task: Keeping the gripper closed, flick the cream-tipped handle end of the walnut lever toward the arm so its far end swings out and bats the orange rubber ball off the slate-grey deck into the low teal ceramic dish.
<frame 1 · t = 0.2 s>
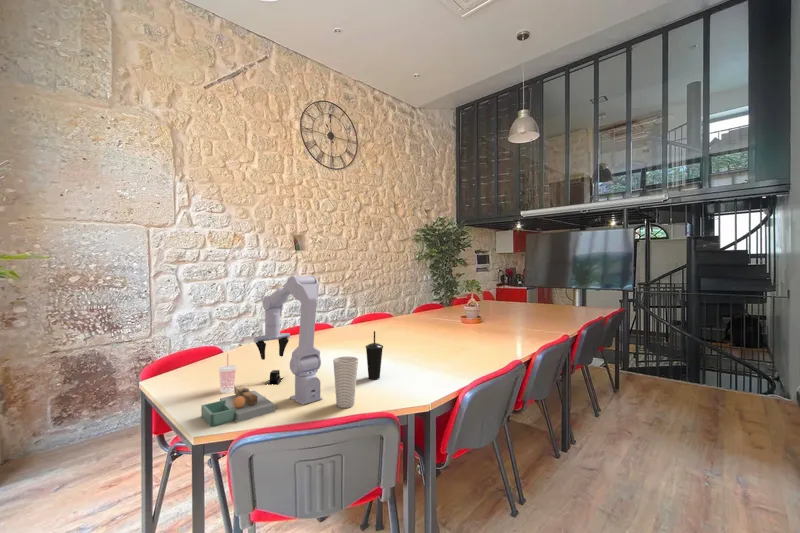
hand: (272, 357, 141), 10 cm above the table, tool pointing down, fingers open, 7 cm apart
drinking cup: (374, 378, 147), on the table
ball: (239, 402, 109), point 4 cm above the table, touching deck
pivot post: (245, 406, 116), resting on deck
cup: (345, 405, 117), on the table
beverage cup: (227, 391, 130), on the table
lever: (245, 393, 115), point 4 cm above the table, hinge at 0.0°
deck: (246, 408, 114), on the table
teal dish: (218, 418, 106), on the table
black blocky device: (274, 382, 142), on the table
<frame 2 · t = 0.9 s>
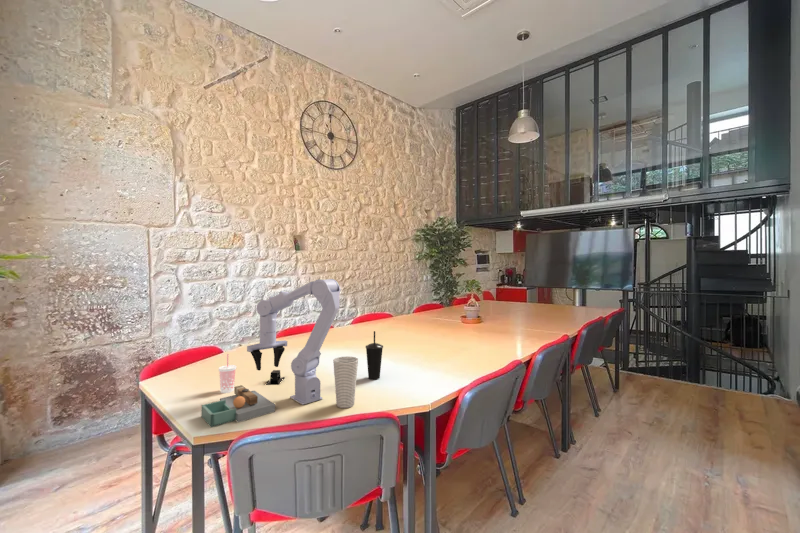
hand: (267, 368, 128), 9 cm above the table, tool pointing down, fingers open, 6 cm apart
nothing on the table moved.
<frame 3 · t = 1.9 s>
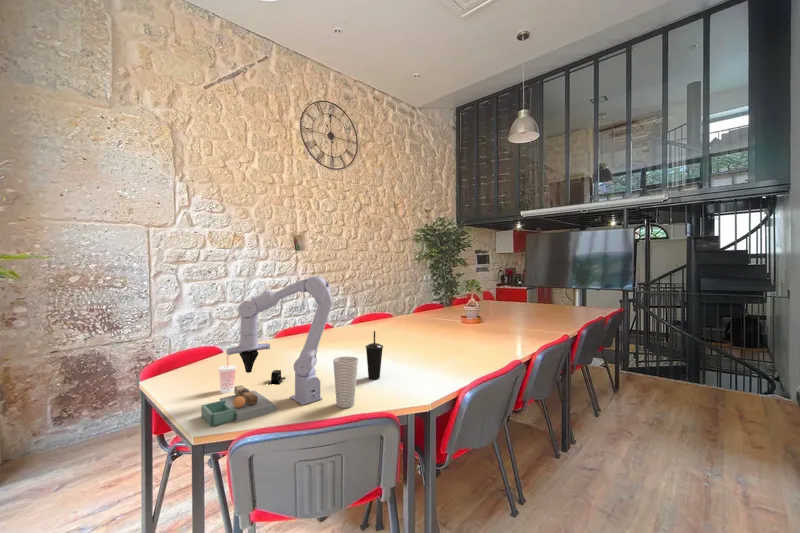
hand: (248, 372, 122), 10 cm above the table, tool pointing down, fingers closed
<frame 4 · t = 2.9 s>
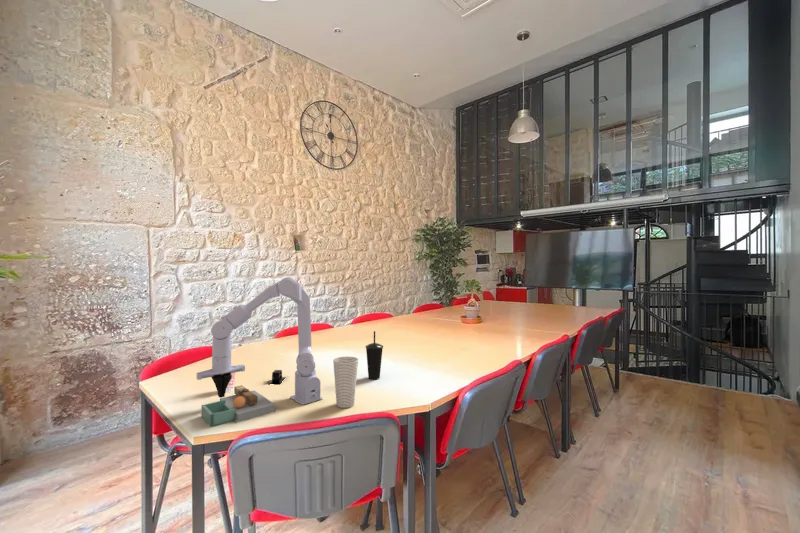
hand: (221, 396, 115), 3 cm above the table, tool pointing down, fingers closed
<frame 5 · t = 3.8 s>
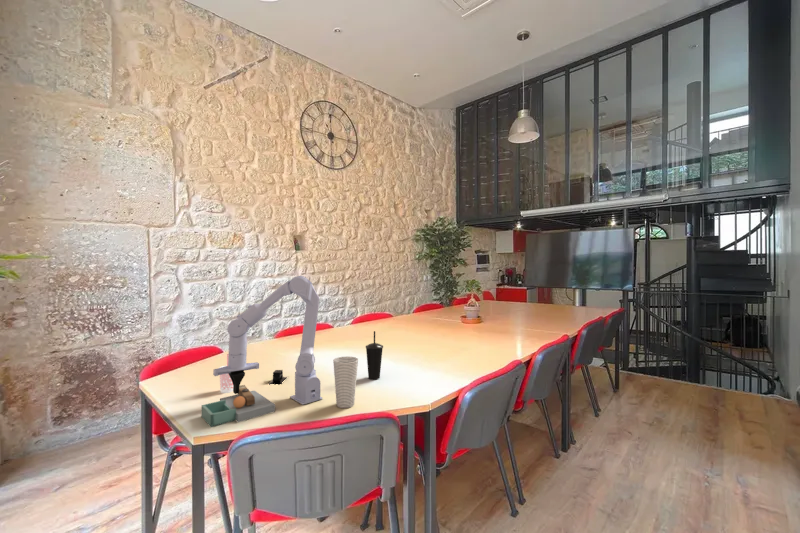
hand: (236, 392, 119), 3 cm above the table, tool pointing down, fingers closed, pressing on lever
lever: (245, 394, 115), point 4 cm above the table, hinge at -7.3°, touching gripper
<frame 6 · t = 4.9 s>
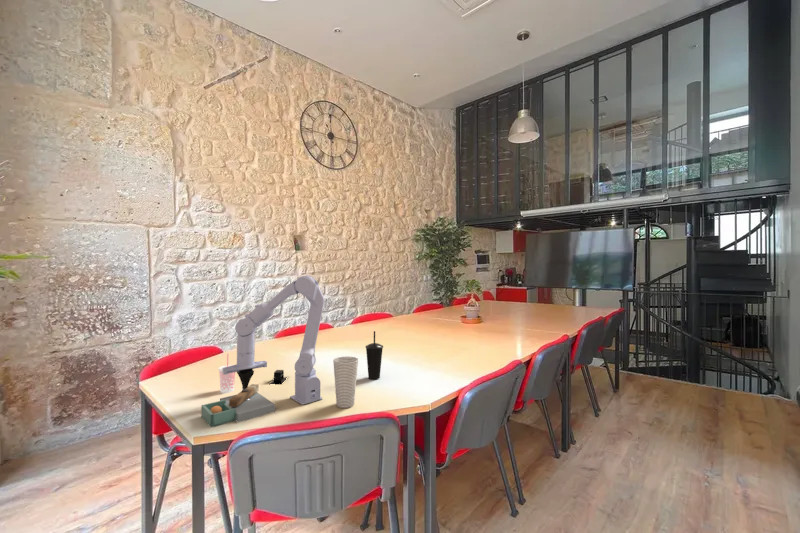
hand: (244, 390, 120), 3 cm above the table, tool pointing down, fingers closed
ball: (215, 411, 106), point 2 cm above the table, tilted 138°, touching teal dish
lever: (244, 394, 115), point 4 cm above the table, hinge at -47.6°, touching gripper
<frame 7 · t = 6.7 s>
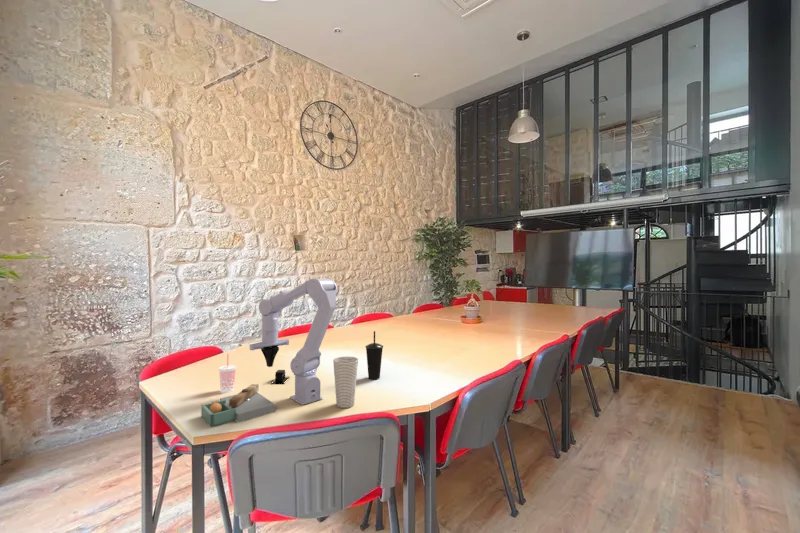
hand: (269, 366, 130), 9 cm above the table, tool pointing down, fingers closed
ball: (215, 408, 108), point 2 cm above the table, tilted 89°, touching teal dish
lever: (244, 394, 115), point 4 cm above the table, hinge at -47.7°
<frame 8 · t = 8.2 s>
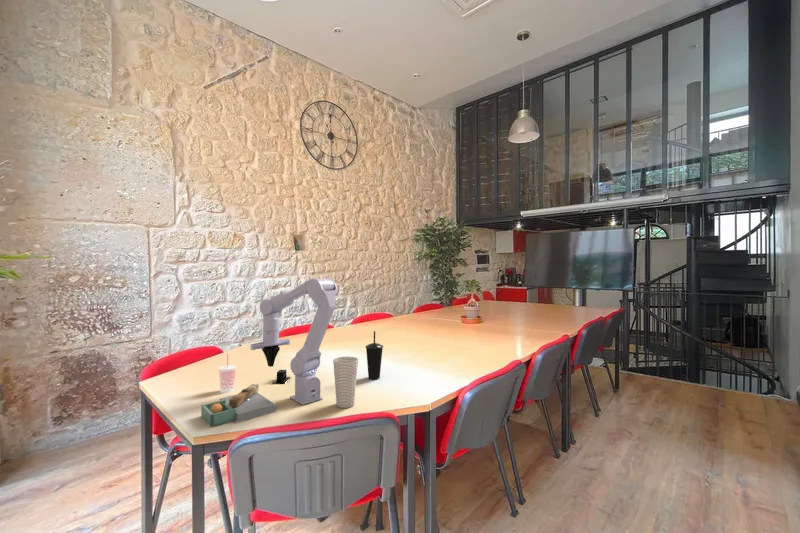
hand: (270, 366, 131), 9 cm above the table, tool pointing down, fingers closed
ball: (216, 409, 108), point 2 cm above the table, tilted 107°, touching teal dish
at the end: ball inside the target area on the teal dish (2.1 cm from its centre), point 2.1 cm above the teal dish's base; ball point 2.1 cm above the table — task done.
